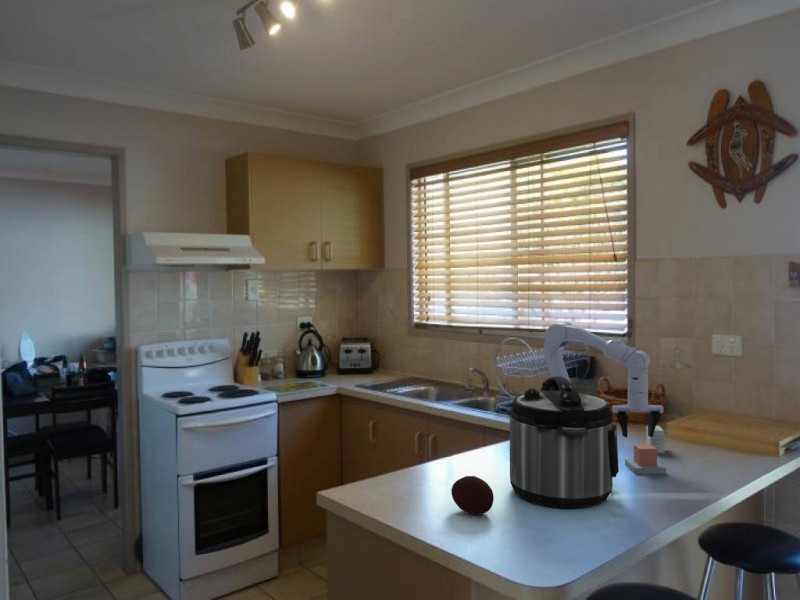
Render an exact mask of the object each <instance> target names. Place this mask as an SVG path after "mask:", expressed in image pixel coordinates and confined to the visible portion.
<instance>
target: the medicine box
mask: <svg viewBox="0 0 800 600" xmlns="http://www.w3.org/2000/svg"><path fill="white" fill-rule="evenodd" d="M645 444H651V445H652V446H654V447H655V448H656V449H657V454H665V449H666V447H665V430H664V429H663V428H662V427H661V426H660V425H656V427H655V430H654V434H653V437H650V436H648V425H646V426H645Z"/></svg>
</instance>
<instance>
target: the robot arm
mask: <svg viewBox="0 0 800 600" xmlns="http://www.w3.org/2000/svg"><path fill="white" fill-rule="evenodd" d="M543 335H544V338H545V339H544V343H543V344H544V345H543V356H544V359H545V362H546V365H547V369H548V371H549V375H550V378H551V377H555V376H560V377H564V378H566V379H567V380H568V381H569V382H570V383H571V380H570V376H569V374H568V371H567V366H566V364H565V362H564V358H563V356H562V353H563V351H564V350H565V347H567V346H566V345H567V344H569V343H570V342H575V341H579V342H582V343H584V344H586V345H589V346H591V347H593V348H596V349H598V350H600V351H602V352H603V355H604V357H606V358H608V359H610V360H612V361H615V362H617V363H618V364H621V365H623V366H625V367H626V369H627V404H617V405H612V413H613V414H615V416H616V419H617V420H618V423H619V425H620V429H621V434H622V436H623V438H628V420H629V415H627V413H629V414H630V413H633V414H634V413H638V414H639V413H640V414H641V413H646V416H647V426H648V436H650V437H653V434H654V430H655V427H656V426H658V422H659V421H660V420H661V418H662V414H664V406H663V405H660V404H656V405H655V404H649V374H648V373H649V369H648V368H649V366H650V364H651V357H650V356H649V354H648V353H647V352H646V351H644V350H642V349H641V350H640V349H638V350H636V349H637V348H636V347H634V346H632V347H630V346H628V345H626V344H623V343H622V340H620V339H610V340H606V339H604V338H602V337H600V336H598V335H597V334H594V333H593V332H590V331H588V330H586V329H585V328H583V327H580V326H579V325H577V324H573V323H571V322H568V321H563V322H560V323H553V324H550V325H549V326H548V328H547V329H546V330H545V332H544V333H543ZM571 384H572V383H571Z"/></svg>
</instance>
